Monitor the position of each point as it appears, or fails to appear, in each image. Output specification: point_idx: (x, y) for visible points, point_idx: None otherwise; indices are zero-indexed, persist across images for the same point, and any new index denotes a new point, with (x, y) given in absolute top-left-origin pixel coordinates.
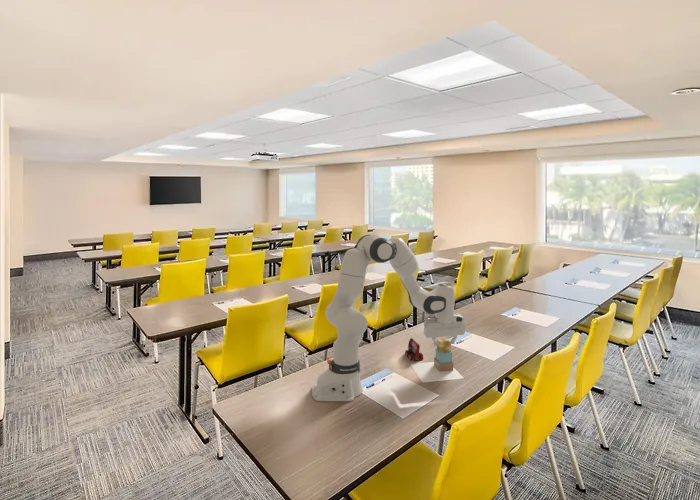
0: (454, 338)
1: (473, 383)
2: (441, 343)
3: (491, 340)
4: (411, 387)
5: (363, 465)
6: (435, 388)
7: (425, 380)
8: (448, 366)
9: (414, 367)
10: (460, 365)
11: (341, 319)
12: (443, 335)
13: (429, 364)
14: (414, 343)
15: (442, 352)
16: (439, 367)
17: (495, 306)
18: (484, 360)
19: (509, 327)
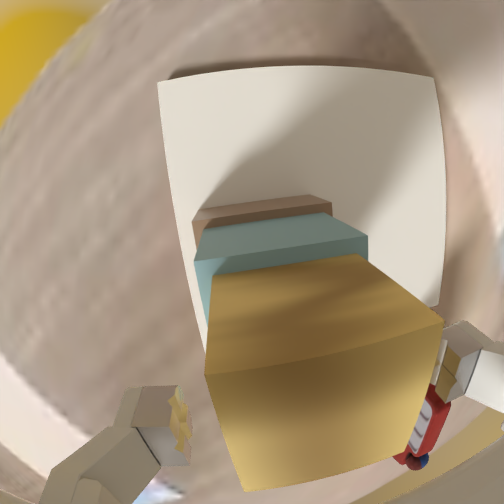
0: (107, 466)
1: (115, 59)
2: (432, 317)
3: (22, 459)
4: (467, 78)
5: None
6: (370, 29)
7: (420, 93)
8: (240, 207)
9: (433, 264)
10: (126, 307)
11: None
12: (480, 483)
13: None
14: (442, 424)
15: (337, 257)
16: (320, 199)
17: None
18: (13, 344)
19: (4, 482)
